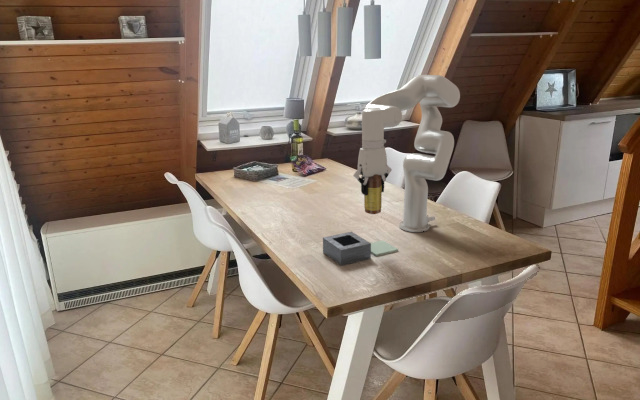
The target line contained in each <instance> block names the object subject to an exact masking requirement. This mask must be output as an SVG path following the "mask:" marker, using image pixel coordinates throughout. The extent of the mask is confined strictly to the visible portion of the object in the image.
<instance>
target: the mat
mask: <svg viewBox="0 0 640 400" xmlns="http://www.w3.org/2000/svg"><path fill="white" fill-rule="evenodd" d="M370 243H371V255H373V256H374V257H379V256H383V255H387V254H391V253H396V252H399V248H397V247H395V246H393V244H390V243H389V242H387V241H385V240H383V239H382V240H378V241H374V242H370Z"/></svg>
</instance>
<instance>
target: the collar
mask: <svg viewBox="0 0 640 400" xmlns="http://www.w3.org/2000/svg"><path fill="white" fill-rule="evenodd" d="M371 243H372V242H370V241H368V240H366V239H364V238H363V237H361V236H359V235H358V234H356V233H355V232H353V231H347V232H343V233H339V234H338V233H337V234H333V235H328V236H324V237H322V253H323V254H325V255H326V256H327V257H328V258H330V259H331V260H332V261H334V262H335V263H336V264H338V265H339V266H341V267H342V266H346V265H351V264H354V263H358V262H364V261H366V260H367V261H368V260H371V259H372V258H371V257H372V256H371V255H372V254H371Z"/></svg>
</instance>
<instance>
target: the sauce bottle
mask: <svg viewBox="0 0 640 400" xmlns="http://www.w3.org/2000/svg"><path fill="white" fill-rule="evenodd" d="M367 185H368V195H364V194H363V195H364V196H363V197H364V198H363V199H364V200H363V201H364V202H363V203H364V212H365V213H367V214H370V215H377V214H380V213H381V211H382V203H383V202H382V193H383V192H382V185H381V177H380V175H378V174H374V175H373V176H371V177H369V178H368V181H367Z"/></svg>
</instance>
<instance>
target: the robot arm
mask: <svg viewBox="0 0 640 400" xmlns="http://www.w3.org/2000/svg"><path fill="white" fill-rule="evenodd" d="M460 99H461V92H460V89H459V87H458V86H457V85H456V84H455V83H453V82H452V81H450V80H449V79H448V78H447V77H445V76H443V75H440V74H439V75H438V74H418V75H416V76H414V77H412V78H411V80H409V81H408V82H407V83H405V84H404V85H403V86H402V87H400V88H398V89H396V90H393V91H390V92H388V93H384V94H381V95H379V96H377V97H375V98H374V99H372V100H371V101H370V102H368V104H367V105H366V106H365V107H364V109H363V110H362V113H361V144H362V145H361V147H360V148H359V152H358V158H357V159H358V160H357V169H356V171H355V172H354V173H353V177H354V179H356V180H357V181H358V182H359V183H360V192H361V194H362V195H368V185H367V181H368V178H369V177H371V176H373V175H374V174H378V175H380V177H381V185H382V193H384V191H385V182H386V180H387V178H388V176H389V175H390V173H391V172H392V168H391V167H390V166H389V165H388V159H387V157H388V156H387V150H386V146H385V144H386V143H387V139H384V137H385V136H384V135H385V134H384V133H385V128H396V127H397V126H399V124H400V123H401V122H402V119H403V111H408V110H411V109H412V108H414V107H416V105H418V103H419V105H420V110H421V119H420V123H419V126H418V129H417V132H416V135H415V137H414V143H413V145H414V146H413V147H414V149H415V150H417V151H419V152H421V153H409V154H407V155H406V156H405V157H404V158H403V161H402V170H403V175H404V191H403V192H404V197H403V214H402V217H403V218H402V221H401V222H400V223H399V228H400V229H401V230H403V231H406V232H408V233H409V232H410V233H422V232H423V231H424V232H426V231H429V230H430V229H431V228H430V227H431V226H430V222H433V221H435V220H436V216H434V215H430V216H429V215H427V213H428V212H427V211H428V196H429V195H428V194H429V187H428V182H427V181H426V180H429V181H441V180H442V179H443V178H444V177H445V175H446V173H447V170H448V167H449V164H450V160H451V157H452V154H453V151H454V147H455V139H454V135H453V134H452V133H451V132H450V131H448V130H447V131H445V130H441V127H442V124H443V117H442V115H441V112H440V110H439V109H438V108H439V107H440V108H454V107H455V106H457V105H458V104H459V102H460ZM424 153H426V154H424ZM429 154H434V155H429Z"/></svg>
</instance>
